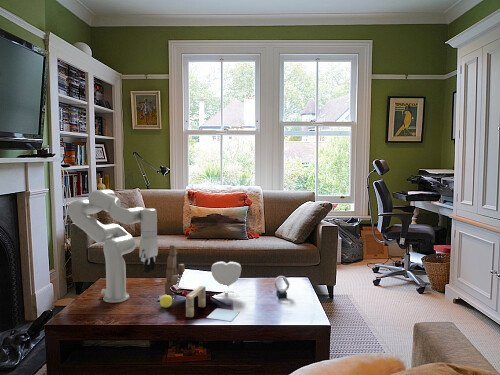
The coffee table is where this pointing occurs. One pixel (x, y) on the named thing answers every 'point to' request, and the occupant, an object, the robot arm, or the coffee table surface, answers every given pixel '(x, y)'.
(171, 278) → the wooden toy
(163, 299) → the ball
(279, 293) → the watch
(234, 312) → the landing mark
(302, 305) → the coffee table surface
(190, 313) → the bridge
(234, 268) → the heart sculpture
